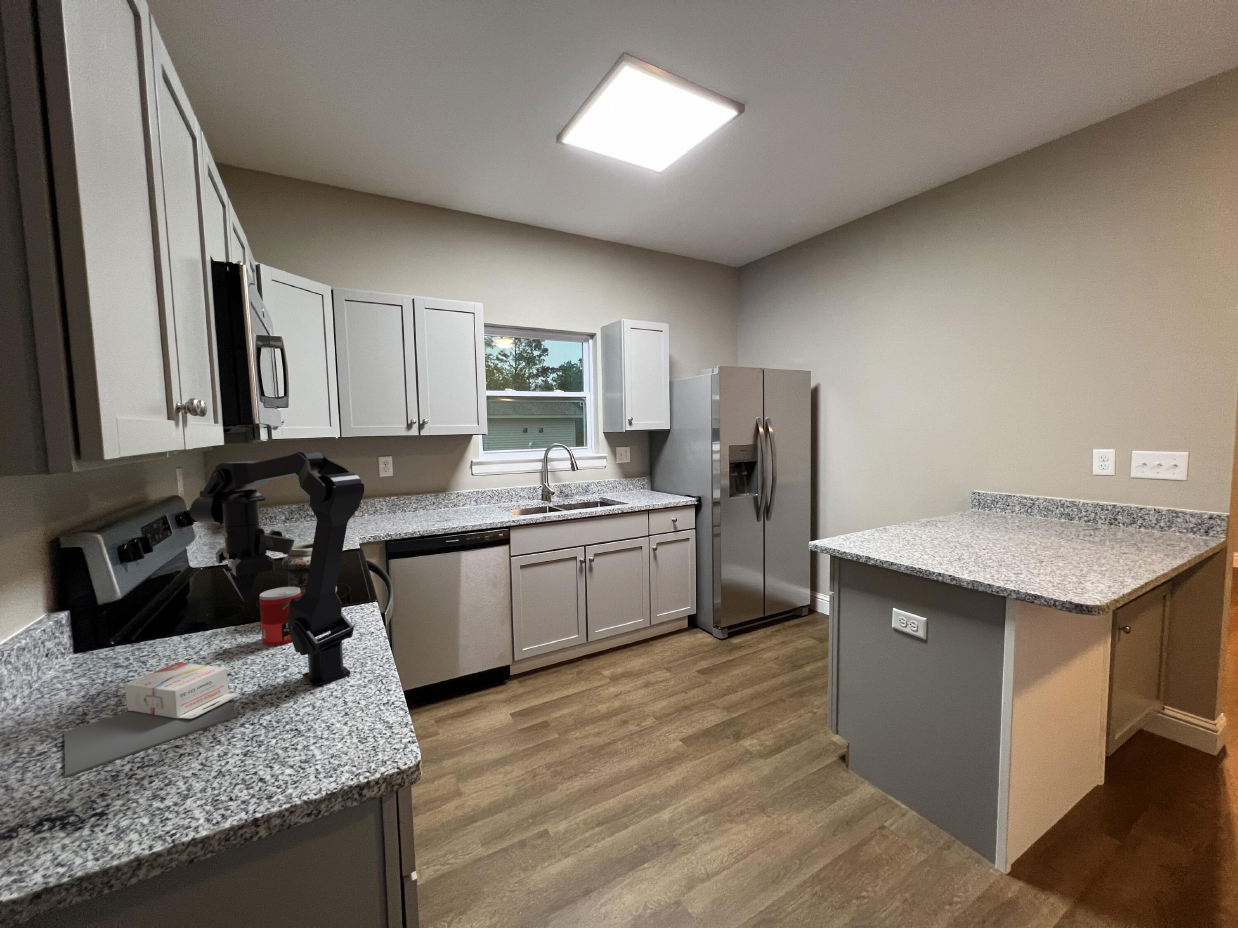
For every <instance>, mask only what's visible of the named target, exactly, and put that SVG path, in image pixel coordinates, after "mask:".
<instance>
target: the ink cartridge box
mask: <svg viewBox="0 0 1238 928" xmlns="http://www.w3.org/2000/svg"><path fill="white" fill-rule="evenodd" d="M124 688H125V689H124V690H125V698H126V699H125V700H126V705H127V710H128V711H136V712H142V713H148V714H154V715H160V716H165V717H171V718H185V719H192V718H195V717H197V716H199V715H201V714H203V713H205V712H207V711H209V710H211V709H213V708H215V707H217V706H219V705H221V704H223V703H225V702H227V701H229V702H230V701H231V700H233V699H235V698H237V697H239V696H240V693H229V682H228V670H227V667H219V666H218V667H217V666H213V665H211V666H210V665H206V664H204V665H203V664H196V663H190V662H182V661H178V662H176V663H173V664H171V665H169V666H167V667H163V668H162V669H158V670H156V671H154V672H151V673H148V674H147V675H144V676H143V675H142V676H141V677H139V678H136V679H133V680H131V681H128V682H125V684H124ZM217 702H218V703H217ZM214 703H216V704H215V705H213V706H210V705H212V704H214ZM208 706H210V707H208ZM206 707H208V708H206ZM204 708H206V709H204ZM202 709H203V710H202Z"/></svg>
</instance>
